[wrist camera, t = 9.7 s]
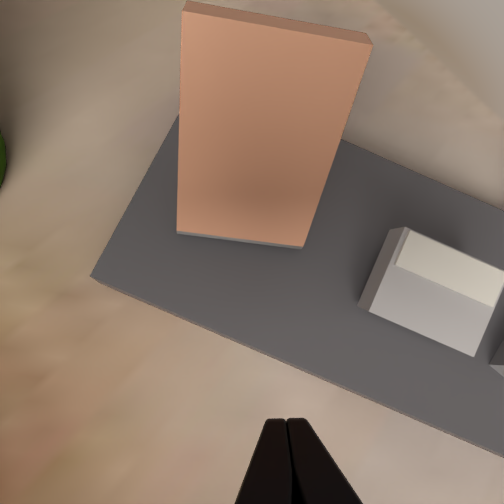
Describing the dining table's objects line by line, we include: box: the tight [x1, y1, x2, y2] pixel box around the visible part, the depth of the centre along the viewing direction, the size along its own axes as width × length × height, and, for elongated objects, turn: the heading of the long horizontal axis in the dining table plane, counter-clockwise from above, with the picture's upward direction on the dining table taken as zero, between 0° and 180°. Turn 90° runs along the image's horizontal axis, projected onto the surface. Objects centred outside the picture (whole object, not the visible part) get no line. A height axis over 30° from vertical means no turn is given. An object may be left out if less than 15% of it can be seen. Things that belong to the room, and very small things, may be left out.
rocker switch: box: [357, 227, 504, 357], centre depth 18 cm, size 4×5×2 cm
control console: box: [90, 115, 504, 458], centre depth 20 cm, size 12×29×4 cm, turn 67°
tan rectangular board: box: [177, 1, 373, 249], centre depth 16 cm, size 1×6×10 cm
